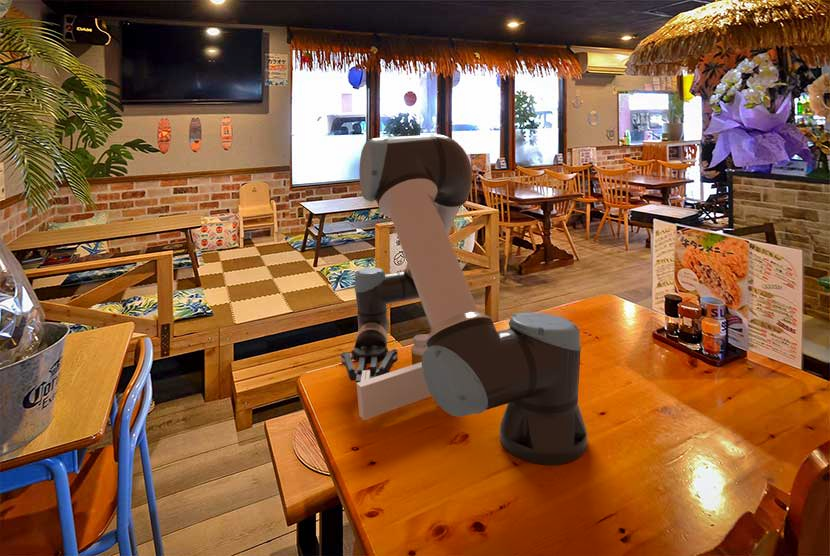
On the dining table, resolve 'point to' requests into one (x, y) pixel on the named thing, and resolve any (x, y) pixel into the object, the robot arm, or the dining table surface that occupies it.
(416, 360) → the supplement bottle
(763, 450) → the dining table surface
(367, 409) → the swing arm
